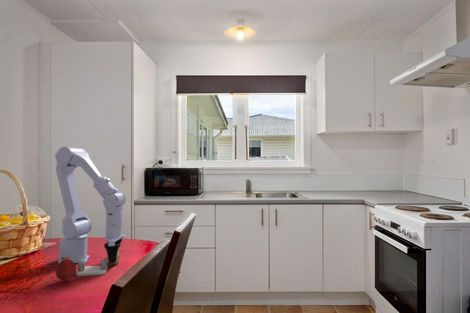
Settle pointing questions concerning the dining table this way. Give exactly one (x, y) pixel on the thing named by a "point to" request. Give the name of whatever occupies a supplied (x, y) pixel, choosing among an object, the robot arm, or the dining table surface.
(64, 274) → the onion
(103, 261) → the fitting
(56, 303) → the dining table surface
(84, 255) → the robot arm
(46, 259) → the dining table surface
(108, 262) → the cylinder
